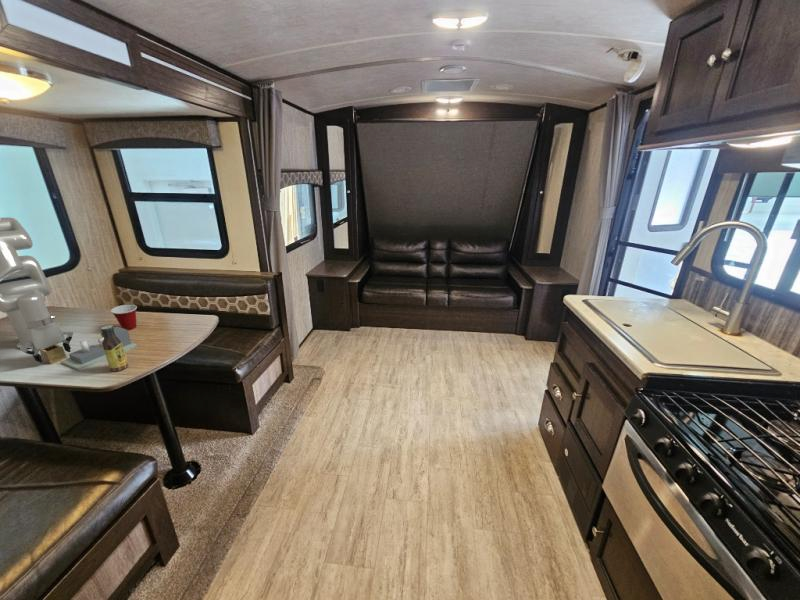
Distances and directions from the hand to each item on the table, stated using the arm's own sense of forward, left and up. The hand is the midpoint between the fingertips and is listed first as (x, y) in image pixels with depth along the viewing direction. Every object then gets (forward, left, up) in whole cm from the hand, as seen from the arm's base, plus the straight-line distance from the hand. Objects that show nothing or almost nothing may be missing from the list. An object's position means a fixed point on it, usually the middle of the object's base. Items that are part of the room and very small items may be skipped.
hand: (54, 356), depth 147 cm
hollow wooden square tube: (0, 0, -2) cm, 2 cm away
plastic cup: (-4, +33, -2) cm, 33 cm away
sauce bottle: (+33, +8, -2) cm, 34 cm away
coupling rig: (+13, +11, -2) cm, 17 cm away
